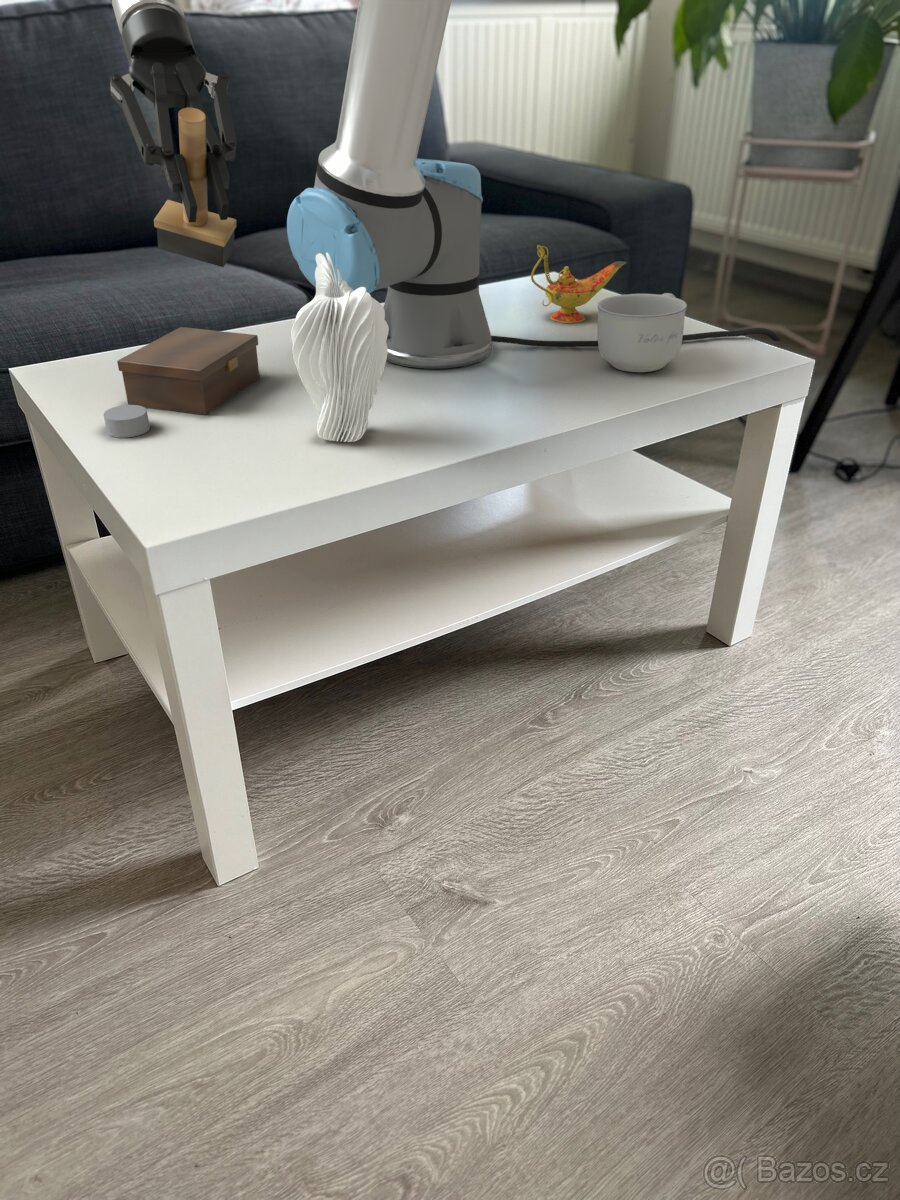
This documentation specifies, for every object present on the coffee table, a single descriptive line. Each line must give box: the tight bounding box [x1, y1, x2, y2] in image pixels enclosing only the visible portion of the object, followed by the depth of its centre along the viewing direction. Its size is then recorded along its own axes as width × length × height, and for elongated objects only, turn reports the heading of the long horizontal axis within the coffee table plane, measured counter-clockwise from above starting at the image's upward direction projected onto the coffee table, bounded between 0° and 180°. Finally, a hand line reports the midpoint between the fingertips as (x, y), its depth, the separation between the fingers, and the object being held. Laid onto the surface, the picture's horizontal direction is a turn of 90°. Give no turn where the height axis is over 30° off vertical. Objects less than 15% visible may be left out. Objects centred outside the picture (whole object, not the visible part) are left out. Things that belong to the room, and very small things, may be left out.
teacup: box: [597, 292, 688, 373], centre depth 117 cm, size 14×11×8 cm
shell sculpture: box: [290, 253, 389, 443], centre depth 93 cm, size 8×8×18 cm
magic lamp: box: [530, 244, 627, 324], centre depth 134 cm, size 7×18×11 cm, turn 125°
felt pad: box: [103, 404, 151, 439], centre depth 99 cm, size 4×4×2 cm
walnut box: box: [116, 326, 260, 416], centre depth 108 cm, size 11×13×5 cm
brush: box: [153, 108, 237, 268], centre depth 105 cm, size 8×4×16 cm, turn 83°
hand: (209, 213), depth 102 cm, fingers closed on brush, 3 cm apart
